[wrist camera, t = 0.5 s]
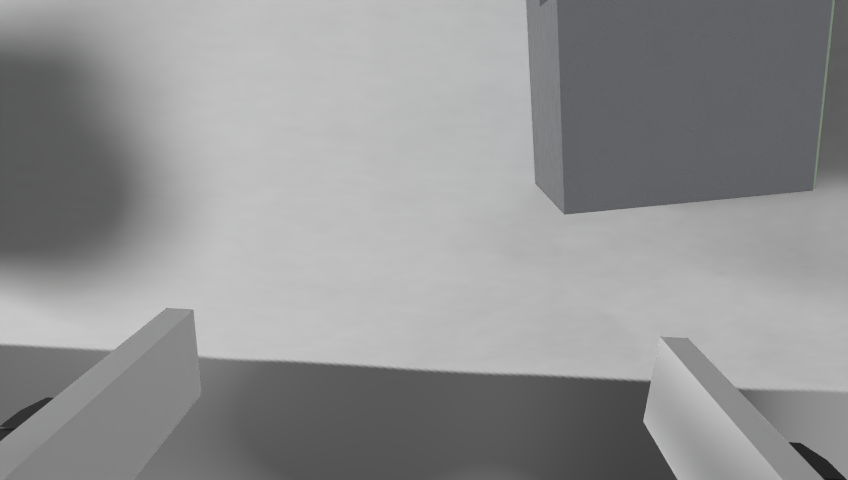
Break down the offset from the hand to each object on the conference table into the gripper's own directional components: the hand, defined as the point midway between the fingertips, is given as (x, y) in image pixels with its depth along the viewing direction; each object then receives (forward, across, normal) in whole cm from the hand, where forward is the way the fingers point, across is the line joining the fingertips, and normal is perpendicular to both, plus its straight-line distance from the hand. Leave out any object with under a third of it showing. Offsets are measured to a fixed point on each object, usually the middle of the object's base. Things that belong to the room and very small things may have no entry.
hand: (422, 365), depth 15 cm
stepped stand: (+27, +14, +14) cm, 33 cm away
